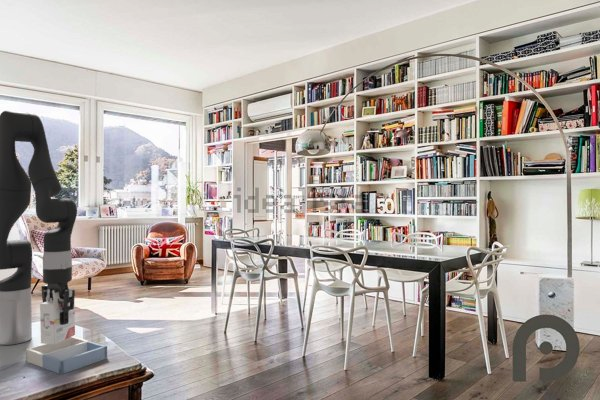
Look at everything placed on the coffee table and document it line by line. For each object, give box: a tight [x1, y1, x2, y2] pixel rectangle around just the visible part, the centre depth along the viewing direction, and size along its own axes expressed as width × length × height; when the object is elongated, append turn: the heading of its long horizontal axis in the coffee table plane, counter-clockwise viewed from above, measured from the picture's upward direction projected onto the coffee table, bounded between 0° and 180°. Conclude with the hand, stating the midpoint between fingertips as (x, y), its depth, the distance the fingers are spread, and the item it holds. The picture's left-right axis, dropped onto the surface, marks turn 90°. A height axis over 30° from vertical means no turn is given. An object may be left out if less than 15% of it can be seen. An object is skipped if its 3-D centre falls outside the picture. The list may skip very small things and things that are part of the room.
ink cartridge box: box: [39, 287, 76, 344], centre depth 129 cm, size 9×5×15 cm, turn 169°
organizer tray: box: [25, 335, 108, 375], centre depth 126 cm, size 18×14×4 cm
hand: (58, 322), depth 129 cm, fingers closed on ink cartridge box, 6 cm apart
